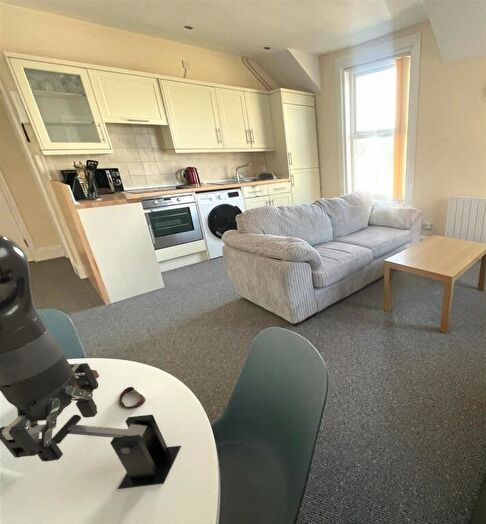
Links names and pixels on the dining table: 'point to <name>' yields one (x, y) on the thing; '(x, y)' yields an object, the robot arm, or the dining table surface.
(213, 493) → the dining table surface
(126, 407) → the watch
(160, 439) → the bracket
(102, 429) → the lever
